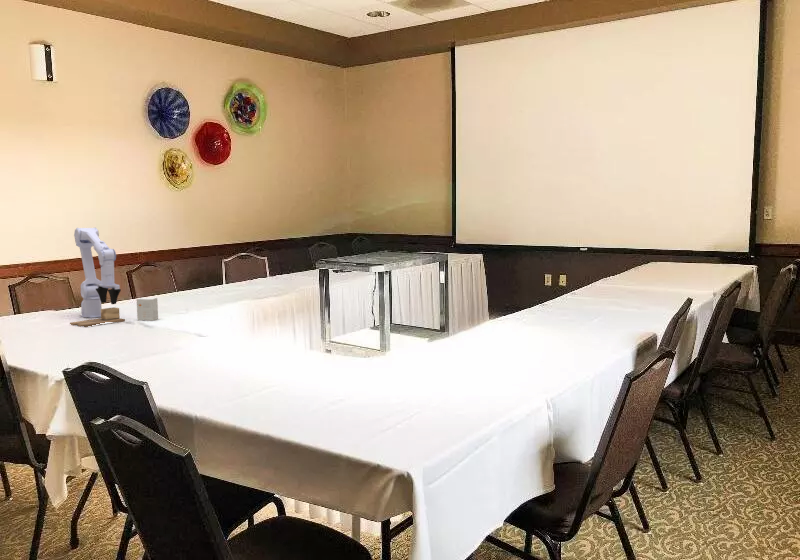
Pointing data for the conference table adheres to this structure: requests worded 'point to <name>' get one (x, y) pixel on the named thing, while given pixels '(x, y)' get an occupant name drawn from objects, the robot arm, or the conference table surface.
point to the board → (94, 322)
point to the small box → (147, 309)
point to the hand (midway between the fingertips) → (108, 303)
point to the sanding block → (110, 313)
